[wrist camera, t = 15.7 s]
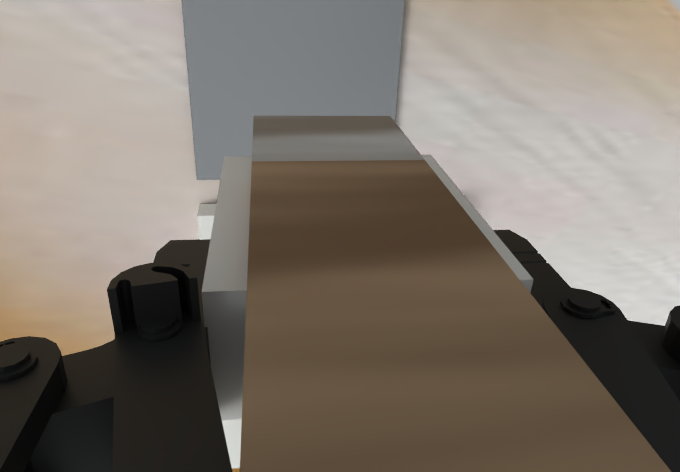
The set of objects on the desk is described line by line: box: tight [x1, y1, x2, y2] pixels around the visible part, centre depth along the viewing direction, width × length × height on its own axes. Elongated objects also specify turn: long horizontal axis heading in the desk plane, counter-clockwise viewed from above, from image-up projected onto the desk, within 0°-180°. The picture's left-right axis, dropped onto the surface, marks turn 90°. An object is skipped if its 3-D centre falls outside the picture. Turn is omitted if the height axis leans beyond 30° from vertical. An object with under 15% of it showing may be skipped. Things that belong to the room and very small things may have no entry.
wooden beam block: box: [240, 116, 671, 472], centre depth 11 cm, size 4×4×14 cm
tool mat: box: [182, 0, 405, 180], centre depth 27 cm, size 9×10×1 cm
